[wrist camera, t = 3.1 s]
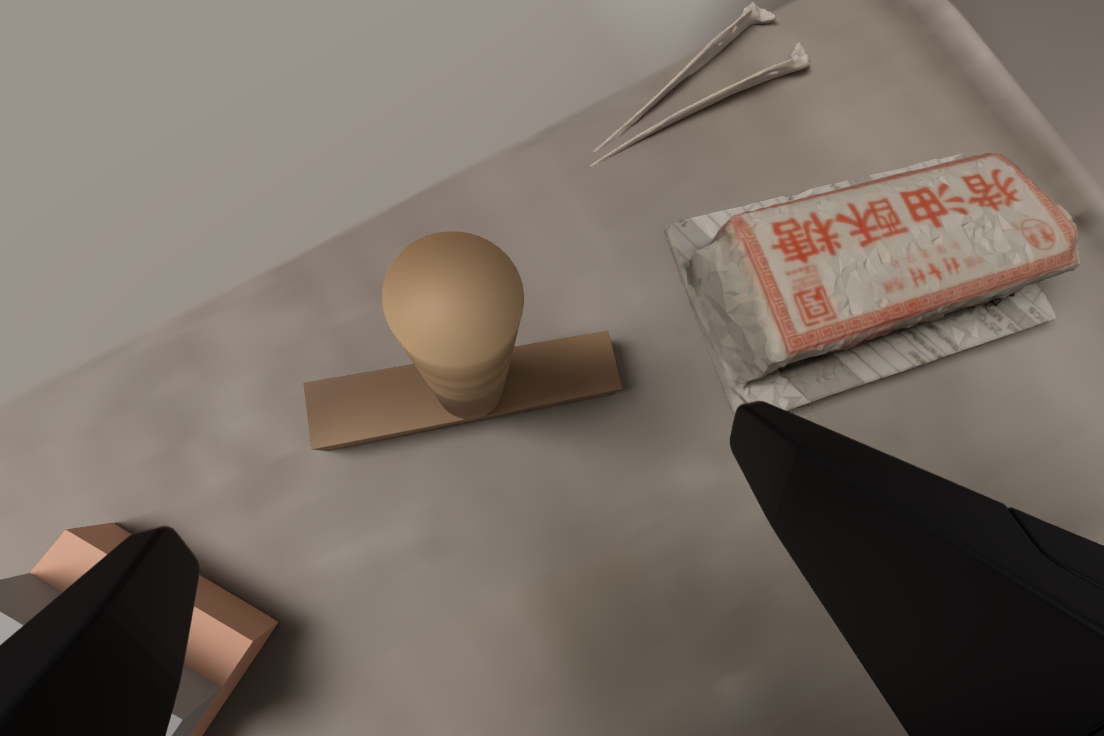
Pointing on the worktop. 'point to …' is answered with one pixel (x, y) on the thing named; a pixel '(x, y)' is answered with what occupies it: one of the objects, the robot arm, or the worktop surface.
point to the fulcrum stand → (215, 634)
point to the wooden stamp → (456, 352)
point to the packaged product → (870, 275)
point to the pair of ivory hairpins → (713, 48)
